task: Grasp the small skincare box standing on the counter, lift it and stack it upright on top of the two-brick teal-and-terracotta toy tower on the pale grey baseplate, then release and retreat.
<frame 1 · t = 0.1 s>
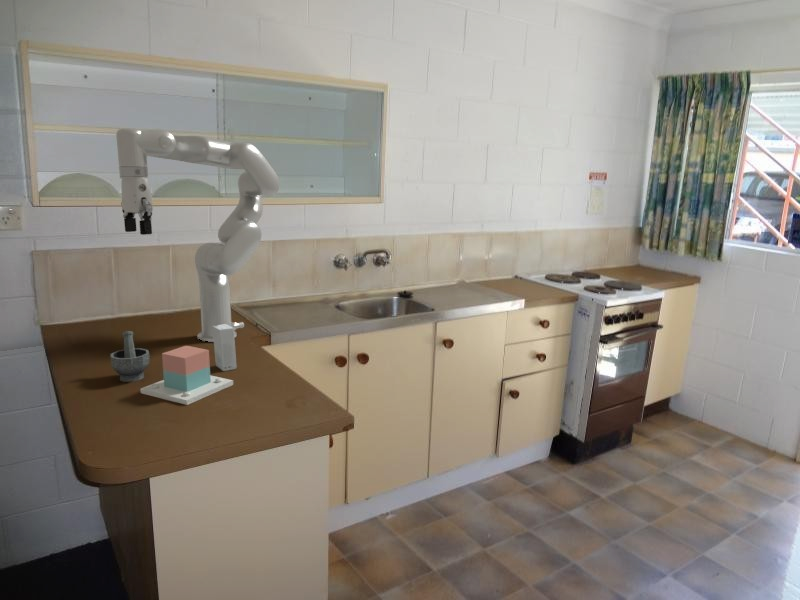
hand: (138, 232, 179), 37 cm above the countertop, tool pointing down, fingers open, 9 cm apart
skincare box: (225, 368, 174), on the countertop
tower: (188, 388, 157), on the countertop
mortar and pestle: (131, 377, 166), on the countertop
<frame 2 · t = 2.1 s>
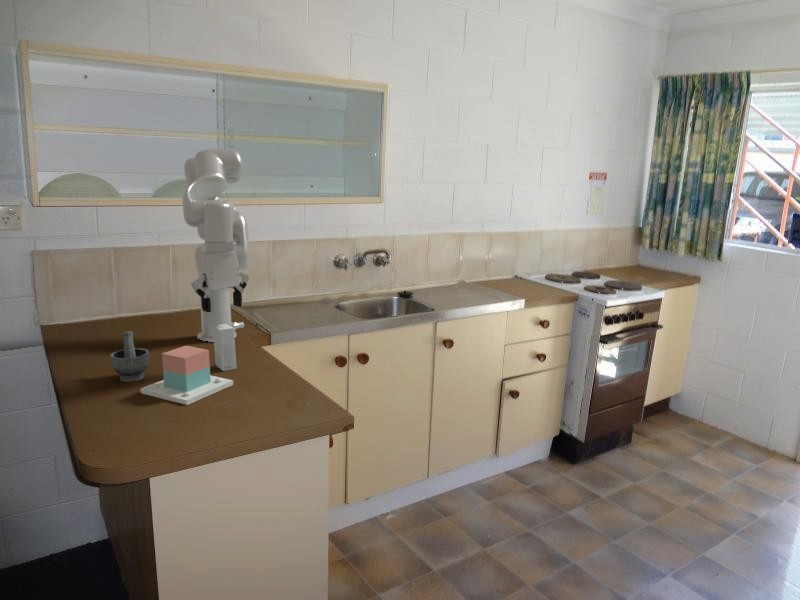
hand: (222, 308, 170), 17 cm above the countertop, tool pointing down, fingers open, 9 cm apart
nothing on the countertop moved.
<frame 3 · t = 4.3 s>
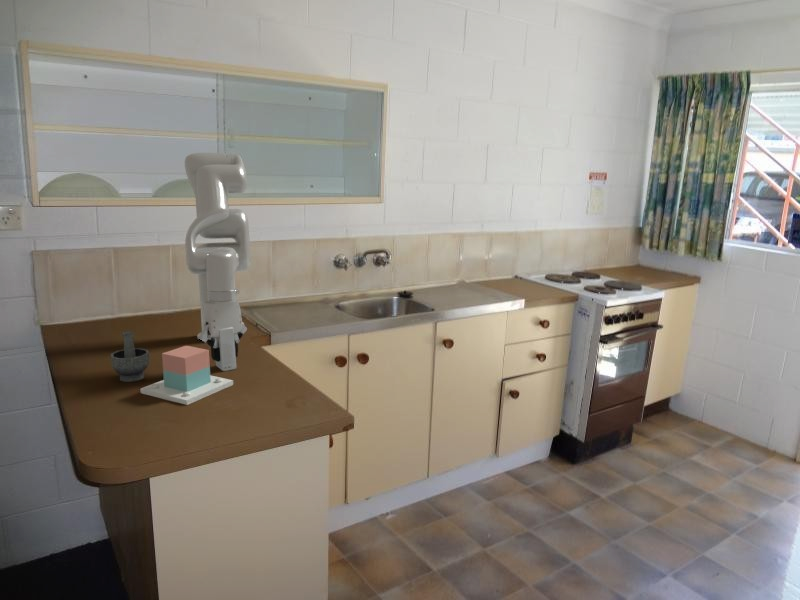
hand: (225, 357, 174), 3 cm above the countertop, tool pointing down, fingers closed on skincare box, 4 cm apart
skincare box: (225, 368, 174), on the countertop, touching gripper
everything else where it was.
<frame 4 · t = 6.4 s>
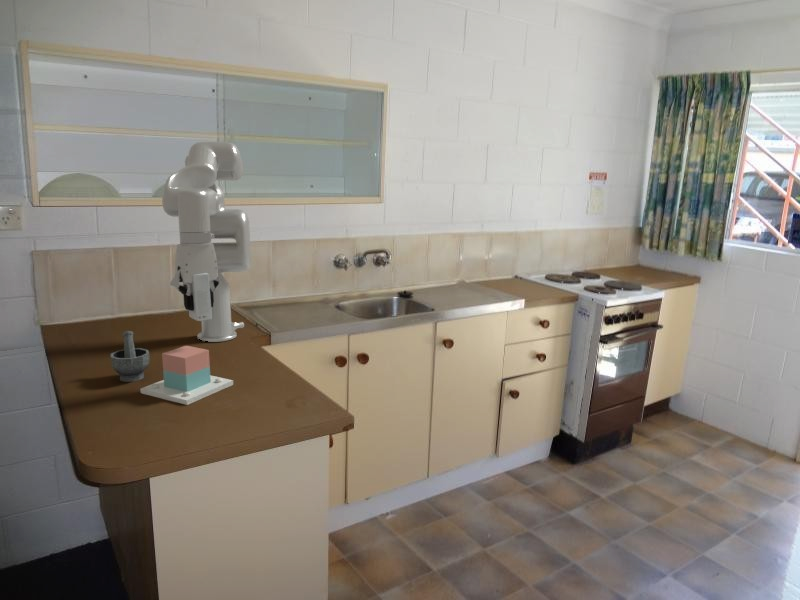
hand: (199, 307, 159), 20 cm above the countertop, tool pointing down, fingers closed on skincare box, 4 cm apart
skincare box: (200, 319, 160), point 17 cm above the countertop, touching gripper
everything else where it was.
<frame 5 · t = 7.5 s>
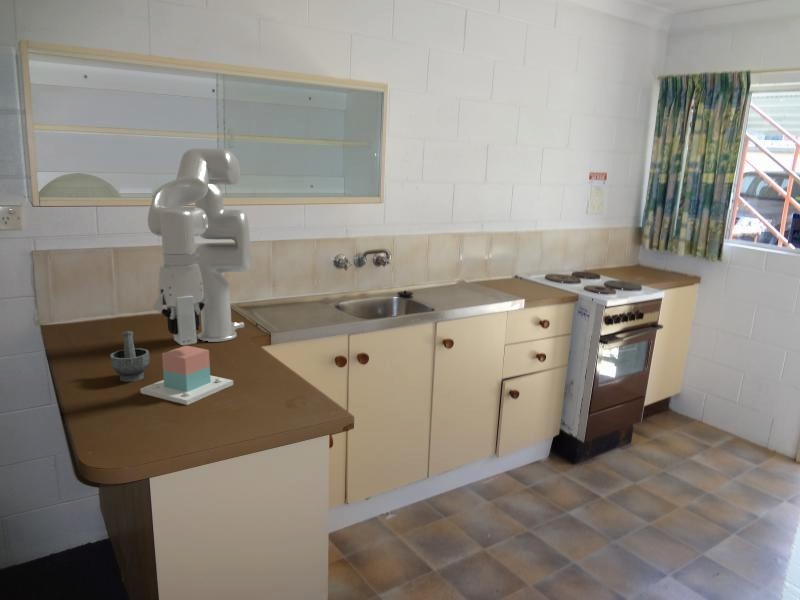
hand: (184, 330, 154), 16 cm above the countertop, tool pointing down, fingers closed on skincare box, 4 cm apart
skincare box: (184, 342, 155), point 12 cm above the countertop, touching gripper
everything else where it was.
when the fingers open (14 cm above the countertop, at t = 8.5 s): skincare box stays where it is, resting on tower.
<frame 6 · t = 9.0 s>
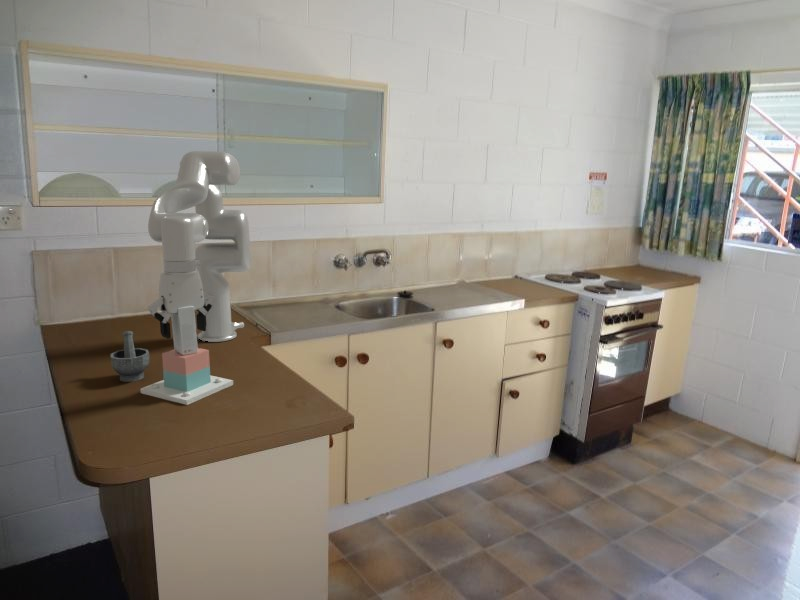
hand: (184, 333, 154), 15 cm above the countertop, tool pointing down, fingers open, 9 cm apart
skincare box: (185, 352, 155), point 10 cm above the countertop, touching tower
everything else where it was.
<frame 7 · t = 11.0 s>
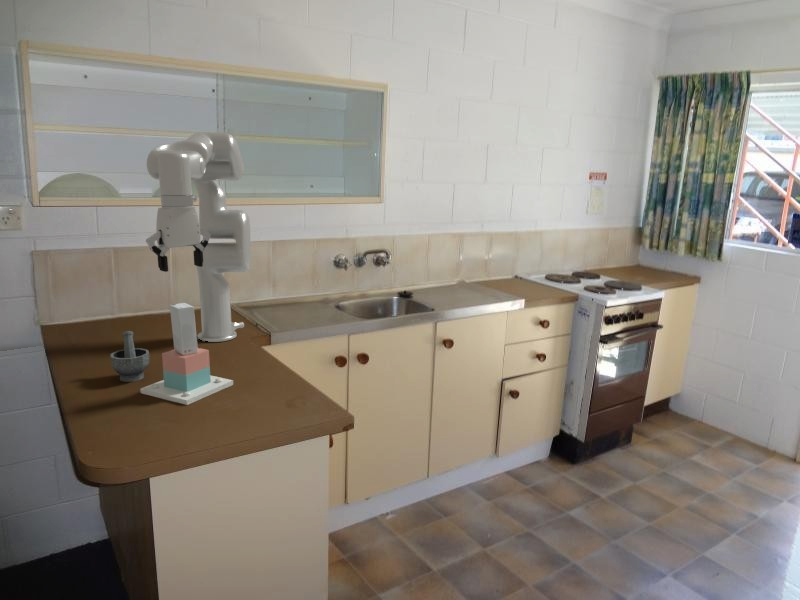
hand: (181, 268, 158), 30 cm above the countertop, tool pointing down, fingers open, 9 cm apart
nothing on the countertop moved.
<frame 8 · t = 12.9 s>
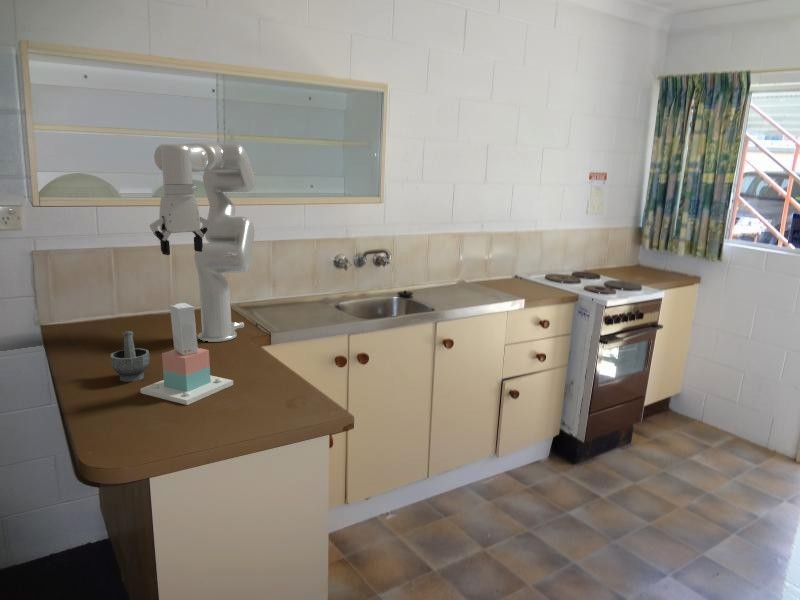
hand: (182, 252, 171), 32 cm above the countertop, tool pointing down, fingers open, 9 cm apart
nothing on the countertop moved.
at the end: skincare box inside the target area on the tower (0.1 cm from its centre), point 9.8 cm above the tower's base; skincare box tilted 0°; the gripper is holding nothing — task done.
